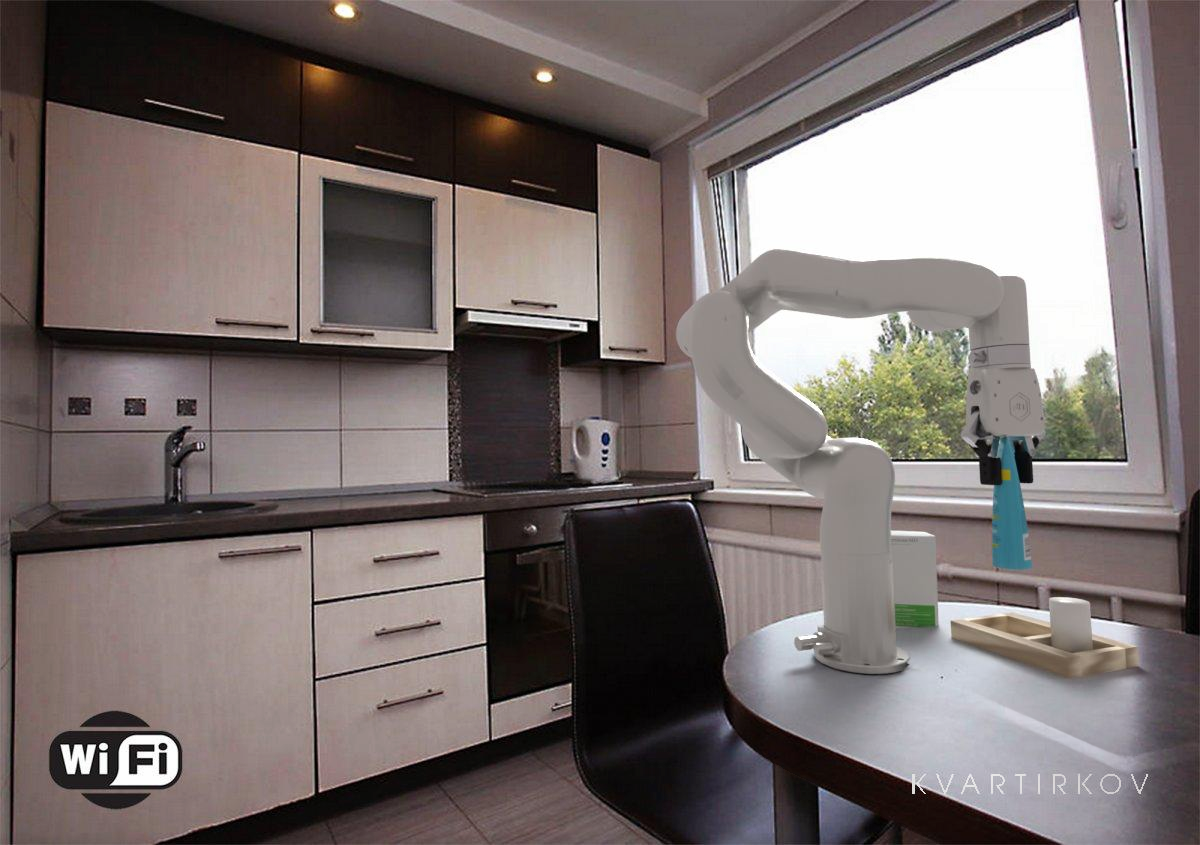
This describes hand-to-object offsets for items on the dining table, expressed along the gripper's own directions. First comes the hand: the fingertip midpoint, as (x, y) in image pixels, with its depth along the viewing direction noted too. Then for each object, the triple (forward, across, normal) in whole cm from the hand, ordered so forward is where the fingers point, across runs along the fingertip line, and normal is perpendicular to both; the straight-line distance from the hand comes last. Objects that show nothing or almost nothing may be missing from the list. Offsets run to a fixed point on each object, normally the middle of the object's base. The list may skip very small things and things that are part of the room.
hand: (1006, 482), depth 93 cm
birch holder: (+24, 0, -4) cm, 25 cm away
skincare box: (+25, -5, +16) cm, 30 cm away
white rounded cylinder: (+23, 0, -8) cm, 25 cm away
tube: (+13, 0, 0) cm, 13 cm away
